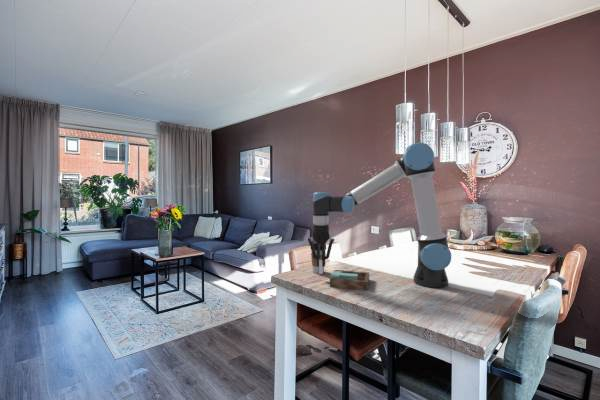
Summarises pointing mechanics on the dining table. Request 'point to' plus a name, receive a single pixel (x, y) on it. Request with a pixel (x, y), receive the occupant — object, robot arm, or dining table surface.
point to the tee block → (343, 275)
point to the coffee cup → (314, 261)
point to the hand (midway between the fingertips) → (321, 272)
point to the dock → (351, 281)
